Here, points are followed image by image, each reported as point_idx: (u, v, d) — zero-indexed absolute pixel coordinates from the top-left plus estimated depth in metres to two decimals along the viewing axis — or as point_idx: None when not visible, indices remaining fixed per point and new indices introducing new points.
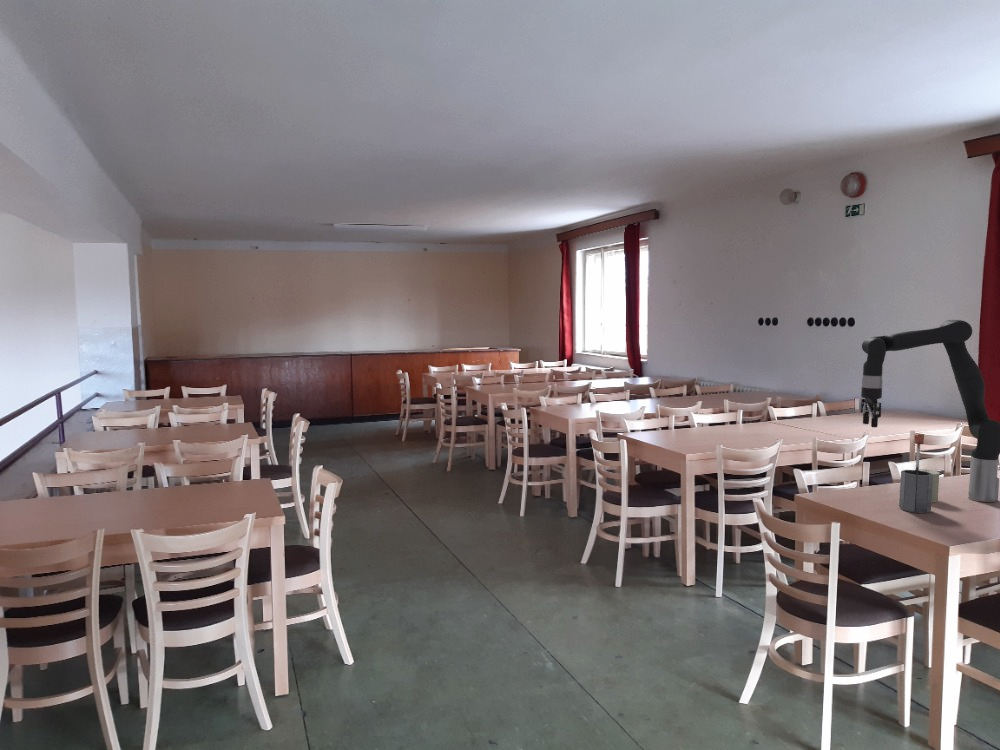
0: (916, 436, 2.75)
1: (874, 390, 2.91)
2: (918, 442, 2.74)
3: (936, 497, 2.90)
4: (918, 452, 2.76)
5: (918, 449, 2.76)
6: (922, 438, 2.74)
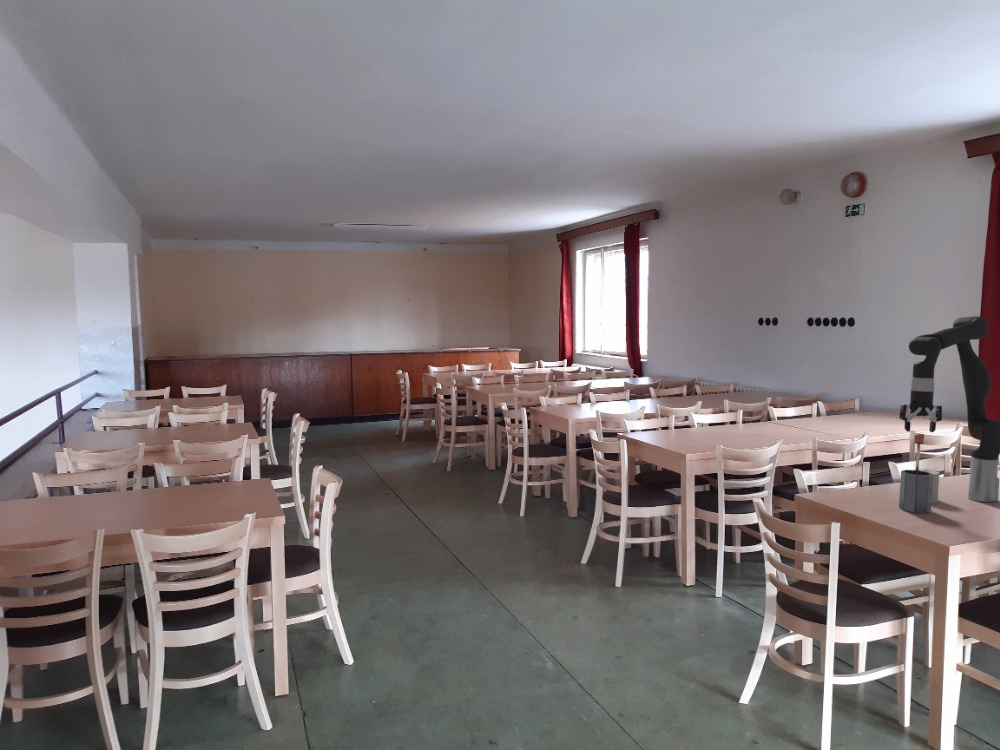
0: (916, 436, 2.75)
1: None
2: (918, 442, 2.74)
3: (936, 497, 2.90)
4: (918, 452, 2.76)
5: (918, 449, 2.76)
6: (922, 438, 2.74)
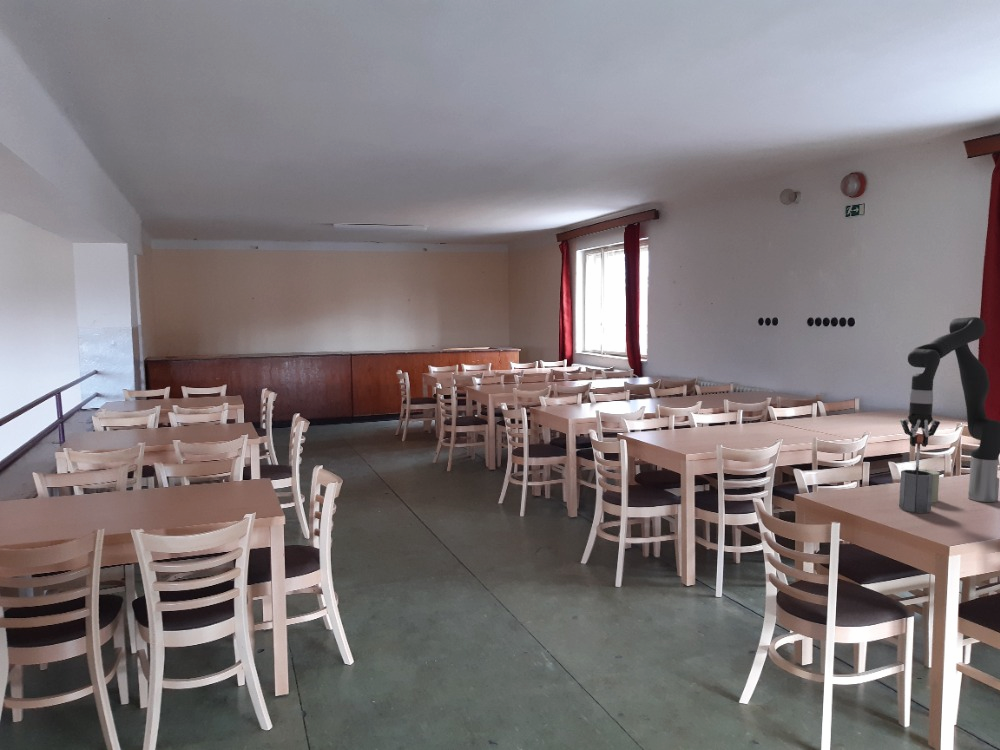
0: (916, 436, 2.75)
1: None
2: (918, 442, 2.74)
3: (936, 497, 2.90)
4: (918, 452, 2.76)
5: (918, 449, 2.76)
6: (922, 438, 2.74)
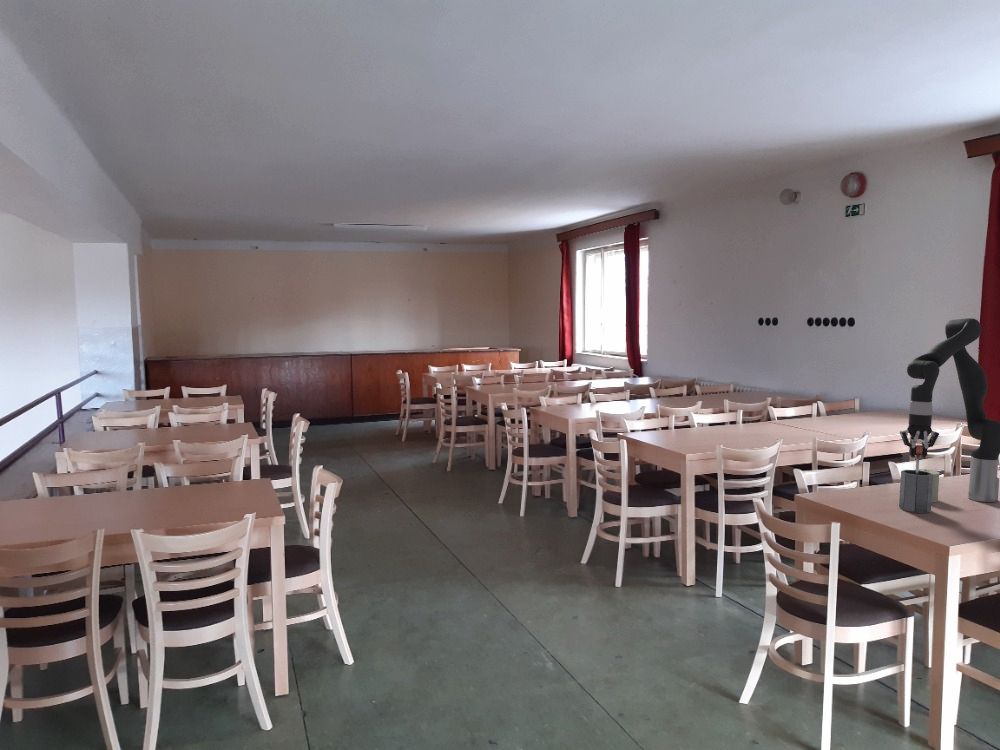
0: (915, 447, 2.75)
1: None
2: (917, 453, 2.75)
3: (936, 497, 2.90)
4: (917, 463, 2.76)
5: (917, 460, 2.76)
6: (921, 449, 2.74)
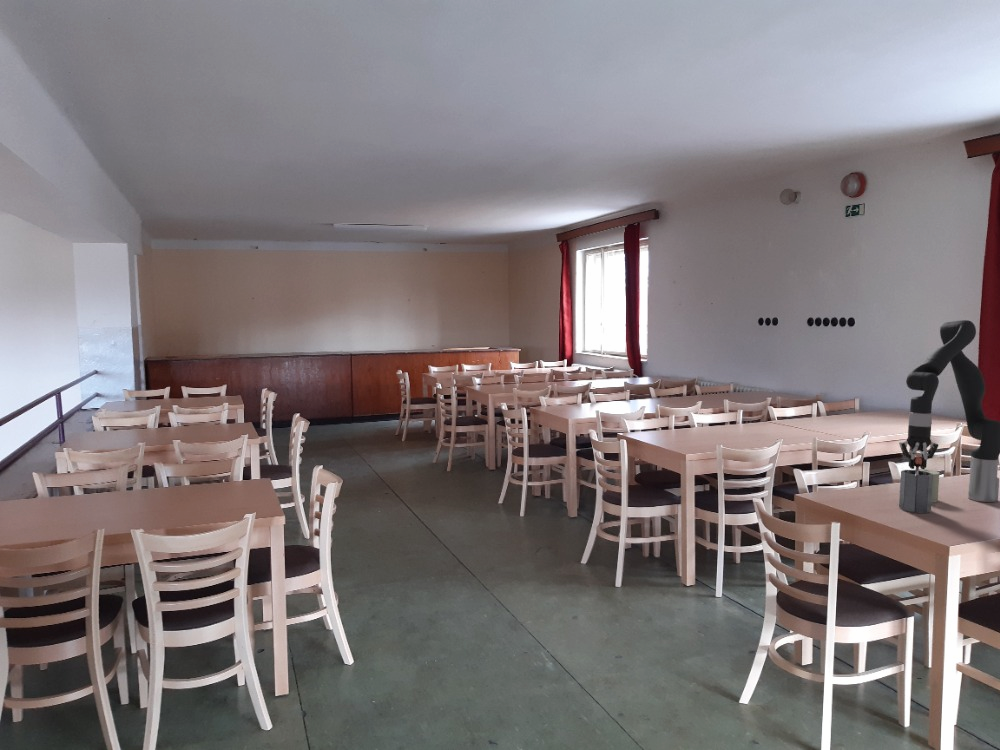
0: (915, 459, 2.76)
1: None
2: (917, 465, 2.75)
3: (936, 497, 2.90)
4: None
5: (917, 472, 2.76)
6: (921, 461, 2.75)
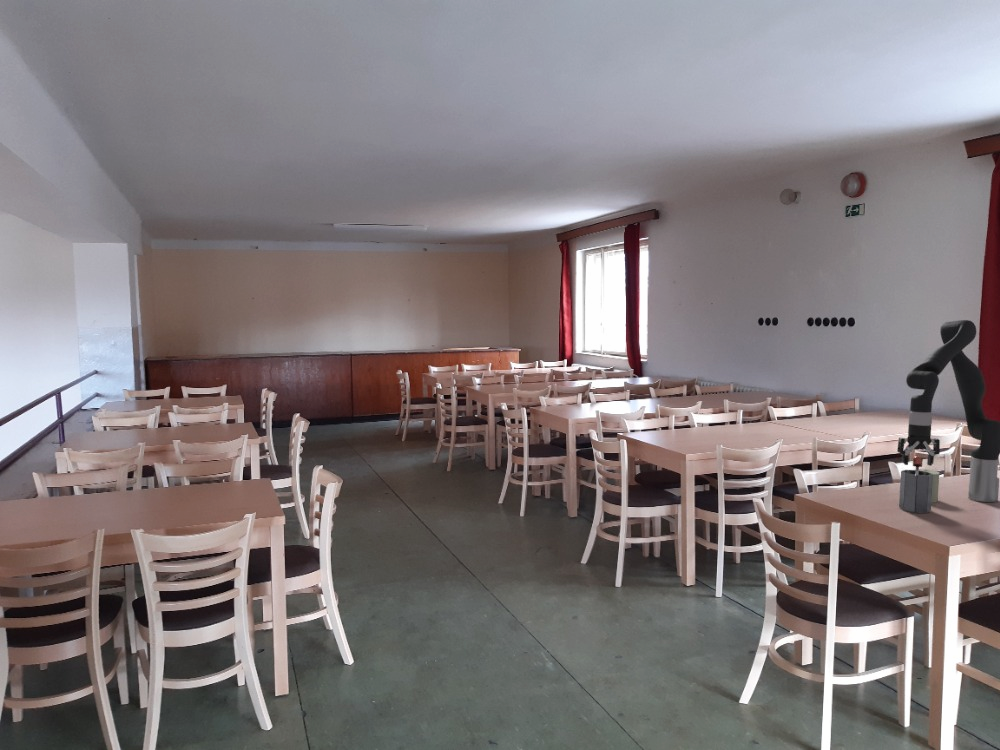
0: (915, 459, 2.76)
1: None
2: (917, 465, 2.75)
3: (936, 497, 2.90)
4: None
5: (917, 472, 2.76)
6: (921, 461, 2.75)
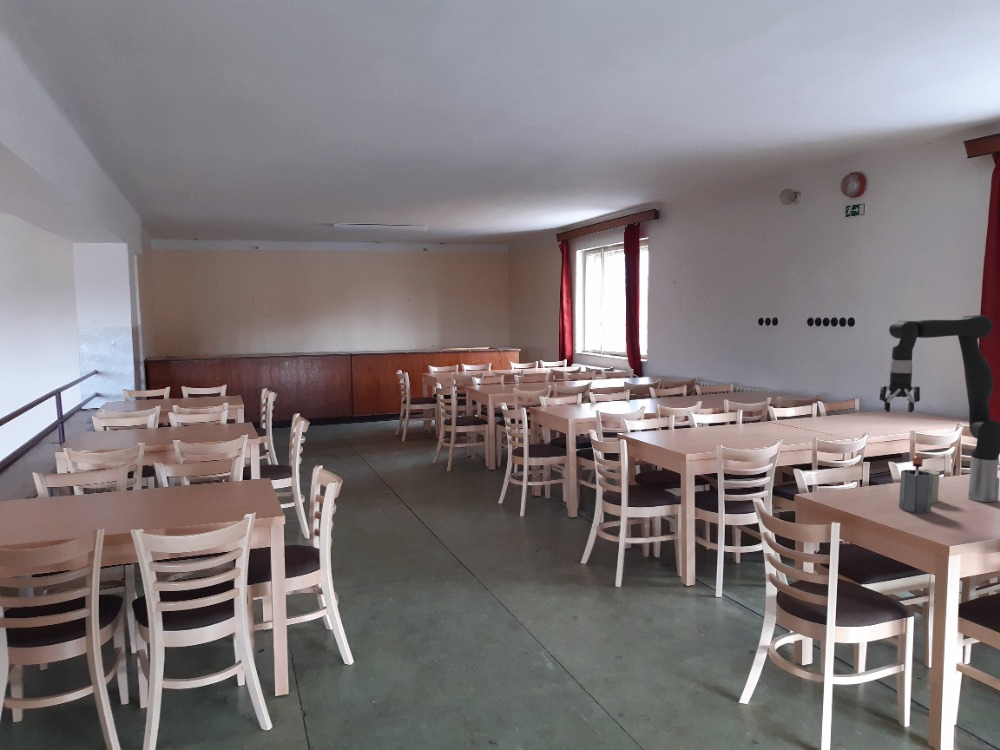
0: (915, 459, 2.76)
1: None
2: (917, 465, 2.75)
3: (936, 497, 2.90)
4: None
5: (917, 472, 2.76)
6: (921, 461, 2.75)
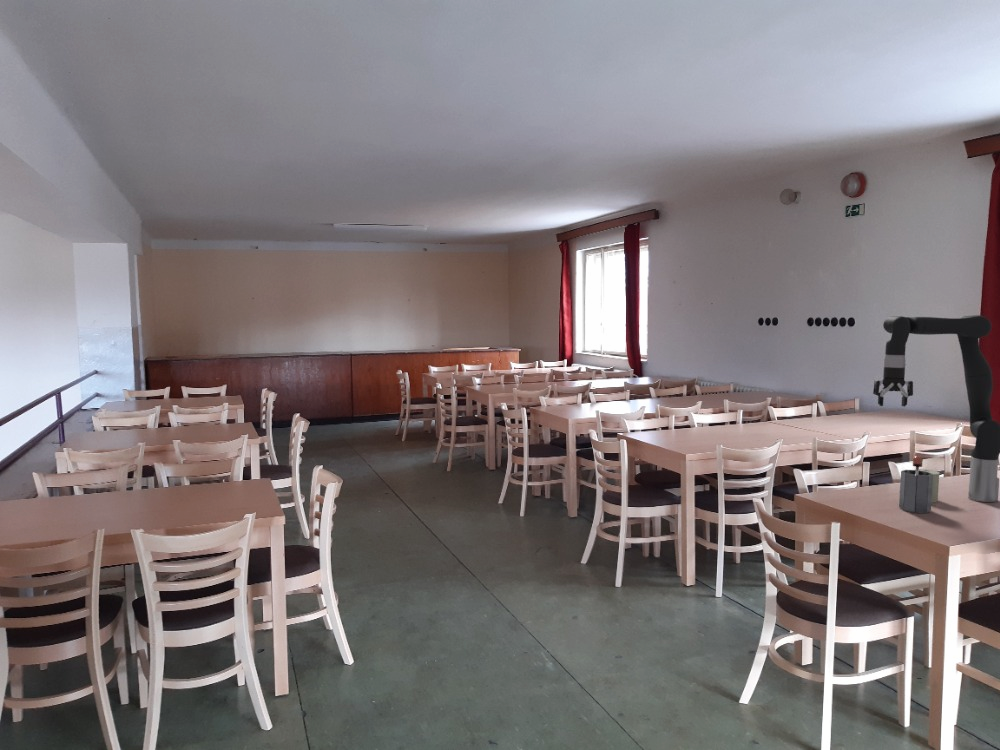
0: (915, 459, 2.76)
1: None
2: (917, 465, 2.75)
3: (936, 497, 2.90)
4: None
5: (917, 472, 2.76)
6: (921, 461, 2.75)
